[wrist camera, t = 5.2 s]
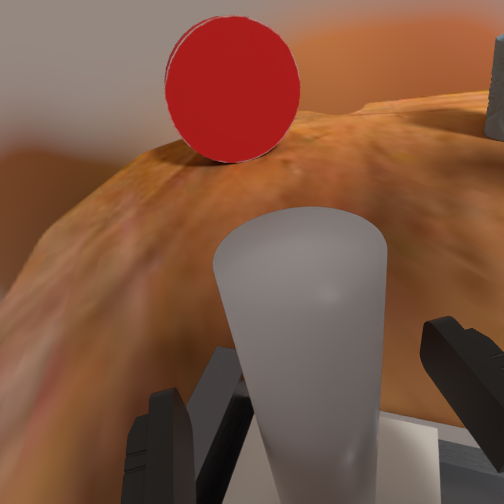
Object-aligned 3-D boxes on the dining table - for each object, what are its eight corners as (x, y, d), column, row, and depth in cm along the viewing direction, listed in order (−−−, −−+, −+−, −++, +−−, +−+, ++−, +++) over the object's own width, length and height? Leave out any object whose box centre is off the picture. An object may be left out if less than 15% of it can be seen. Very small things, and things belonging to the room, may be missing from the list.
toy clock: (294, 137, 65) (280, 2, 54) (305, 146, 60) (293, 1, 49) (184, 163, 63) (146, 30, 52) (186, 176, 59) (145, 32, 47)
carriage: (270, 423, 20) (206, 170, 12) (430, 462, 17) (494, 163, 9) (210, 613, 14) (-1, 375, 6) (437, 720, 12) (644, 550, 3)
